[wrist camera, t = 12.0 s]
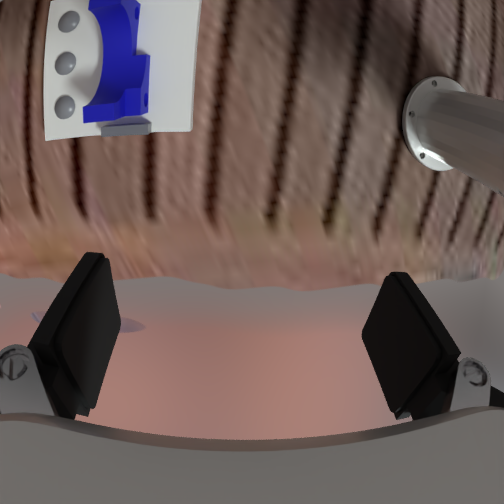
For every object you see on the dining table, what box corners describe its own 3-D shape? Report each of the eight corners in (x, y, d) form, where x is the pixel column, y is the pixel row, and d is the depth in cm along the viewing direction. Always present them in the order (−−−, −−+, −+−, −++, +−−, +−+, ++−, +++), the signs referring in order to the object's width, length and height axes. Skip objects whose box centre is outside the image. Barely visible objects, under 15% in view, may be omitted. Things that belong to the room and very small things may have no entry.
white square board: (203, -18, 21) (201, -28, 18) (192, 128, 30) (188, 133, 27) (58, 4, 19) (44, -1, 16) (53, 137, 28) (38, 143, 25)
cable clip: (148, 112, 27) (131, 119, 22) (107, 115, 26) (83, 123, 21) (155, 2, 21) (139, -14, 16) (112, 8, 20) (90, -5, 15)
